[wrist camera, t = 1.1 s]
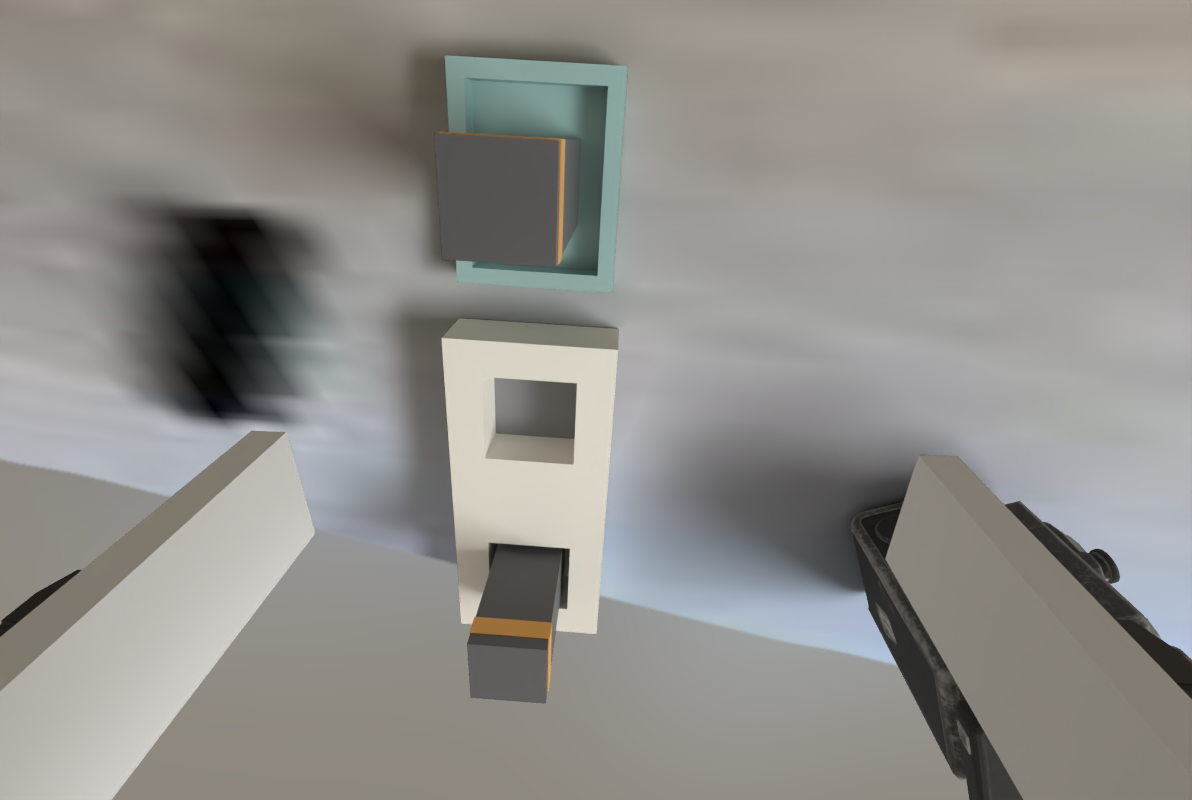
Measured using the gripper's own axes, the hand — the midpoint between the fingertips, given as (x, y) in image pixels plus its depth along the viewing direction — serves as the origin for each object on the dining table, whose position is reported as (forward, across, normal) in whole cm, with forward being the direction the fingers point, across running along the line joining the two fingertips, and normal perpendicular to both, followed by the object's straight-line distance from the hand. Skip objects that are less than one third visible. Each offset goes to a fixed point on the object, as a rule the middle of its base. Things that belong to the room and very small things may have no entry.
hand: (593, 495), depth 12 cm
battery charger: (+20, -5, -13) cm, 24 cm away
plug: (+20, -4, +4) cm, 20 cm away
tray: (+20, -4, +4) cm, 21 cm away
